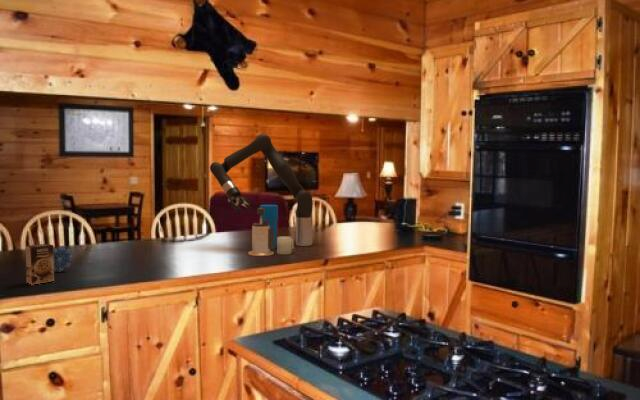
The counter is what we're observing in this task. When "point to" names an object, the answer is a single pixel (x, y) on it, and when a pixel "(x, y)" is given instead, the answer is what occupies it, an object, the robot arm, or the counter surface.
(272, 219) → the blue tapered block
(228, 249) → the counter surface
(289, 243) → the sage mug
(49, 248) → the coffee box
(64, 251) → the grapes
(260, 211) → the plunger
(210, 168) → the robot arm
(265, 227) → the beige cylinder with base
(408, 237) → the counter surface
